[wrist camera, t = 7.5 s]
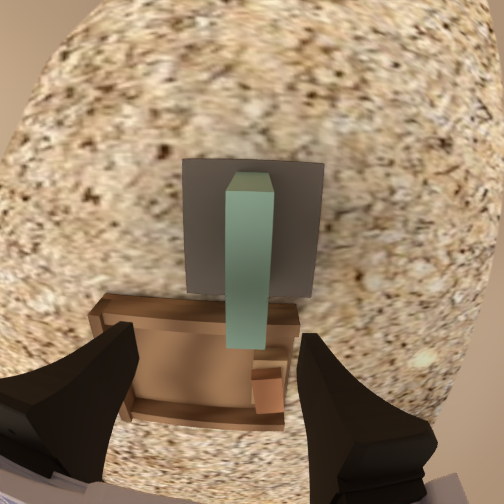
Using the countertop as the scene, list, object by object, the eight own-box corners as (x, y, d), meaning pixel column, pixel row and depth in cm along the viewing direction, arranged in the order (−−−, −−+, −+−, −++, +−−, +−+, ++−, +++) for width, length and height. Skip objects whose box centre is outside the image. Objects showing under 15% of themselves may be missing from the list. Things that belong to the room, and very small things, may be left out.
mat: (323, 163, 19) (324, 164, 19) (310, 295, 23) (310, 297, 22) (183, 158, 19) (182, 159, 19) (187, 291, 23) (187, 293, 22)
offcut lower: (286, 347, 24) (287, 360, 22) (280, 391, 25) (281, 404, 24) (253, 346, 24) (253, 360, 22) (251, 390, 25) (251, 403, 24)
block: (268, 172, 19) (274, 192, 13) (263, 287, 22) (265, 349, 16) (236, 171, 19) (225, 190, 13) (234, 286, 22) (226, 348, 16)
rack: (296, 304, 23) (301, 329, 20) (281, 409, 27) (283, 435, 24) (105, 293, 23) (87, 314, 20) (131, 396, 27) (121, 420, 24)
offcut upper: (280, 367, 22) (281, 378, 21) (283, 401, 24) (284, 411, 23) (251, 369, 22) (251, 380, 21) (256, 403, 24) (256, 414, 23)
